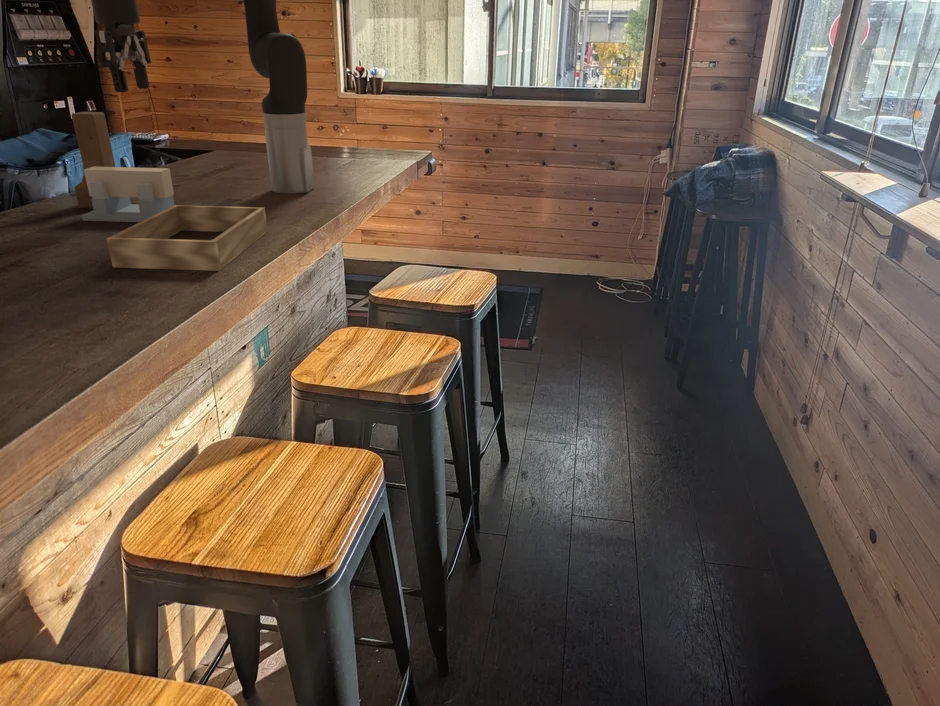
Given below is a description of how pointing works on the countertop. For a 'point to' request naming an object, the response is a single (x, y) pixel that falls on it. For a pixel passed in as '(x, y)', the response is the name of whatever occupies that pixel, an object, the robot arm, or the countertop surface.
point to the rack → (125, 204)
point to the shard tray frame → (156, 251)
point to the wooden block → (91, 149)
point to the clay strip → (131, 180)
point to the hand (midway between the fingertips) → (133, 90)
